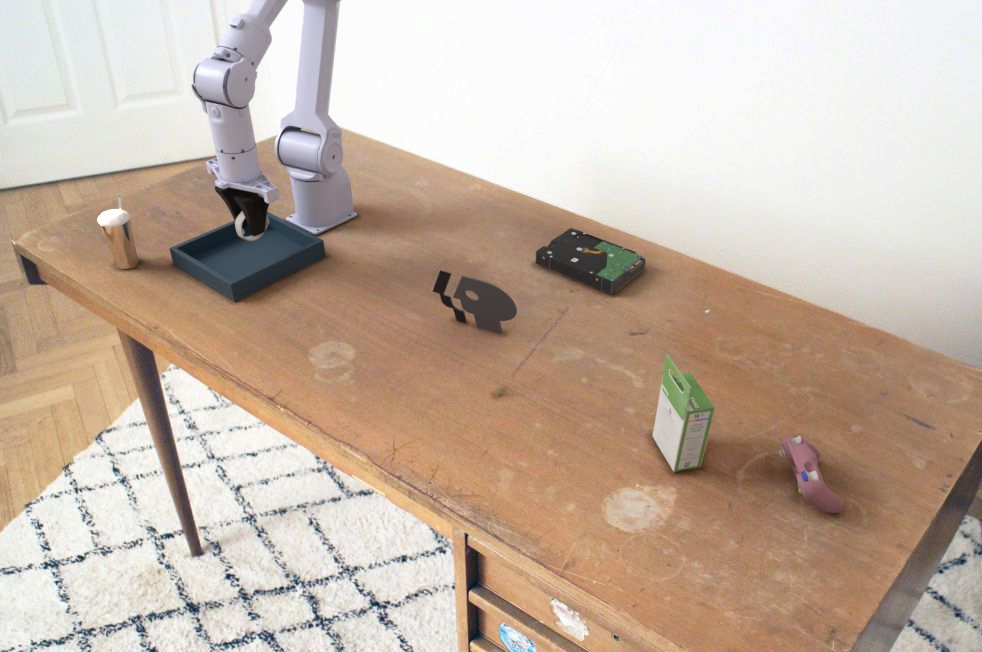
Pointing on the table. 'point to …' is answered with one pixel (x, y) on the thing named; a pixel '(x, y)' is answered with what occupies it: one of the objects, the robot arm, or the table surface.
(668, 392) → the ink box
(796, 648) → the table surface
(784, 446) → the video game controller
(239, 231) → the wristwatch
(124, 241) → the milkshake
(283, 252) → the tray
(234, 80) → the robot arm
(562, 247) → the disk drive
